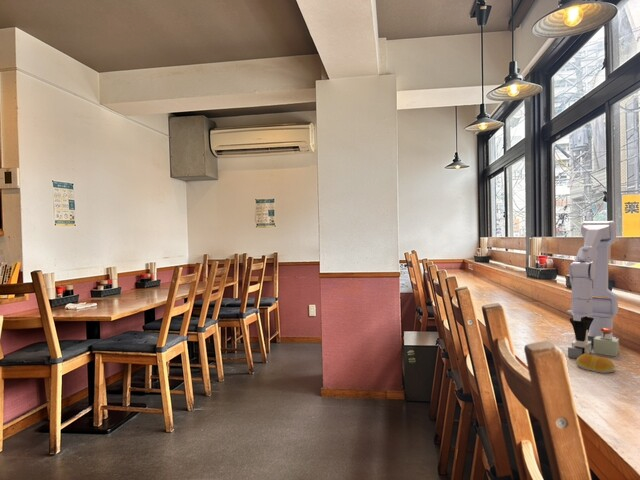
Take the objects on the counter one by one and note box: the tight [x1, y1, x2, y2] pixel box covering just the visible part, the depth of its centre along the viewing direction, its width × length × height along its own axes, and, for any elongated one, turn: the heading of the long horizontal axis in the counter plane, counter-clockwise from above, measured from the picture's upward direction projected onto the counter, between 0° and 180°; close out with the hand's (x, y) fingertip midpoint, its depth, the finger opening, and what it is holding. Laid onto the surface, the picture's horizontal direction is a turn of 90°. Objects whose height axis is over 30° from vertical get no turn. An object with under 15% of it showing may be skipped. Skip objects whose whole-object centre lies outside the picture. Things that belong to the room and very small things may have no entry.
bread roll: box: [575, 353, 616, 374], centre depth 116 cm, size 8×9×4 cm
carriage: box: [571, 330, 592, 354], centre depth 132 cm, size 6×4×7 cm
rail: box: [567, 335, 595, 360], centre depth 134 cm, size 24×4×3 cm, turn 137°
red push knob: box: [600, 328, 614, 340], centre depth 132 cm, size 3×3×5 cm
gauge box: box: [593, 336, 620, 357], centre depth 132 cm, size 6×6×4 cm
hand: (581, 339), depth 132 cm, fingers closed on carriage, 3 cm apart
